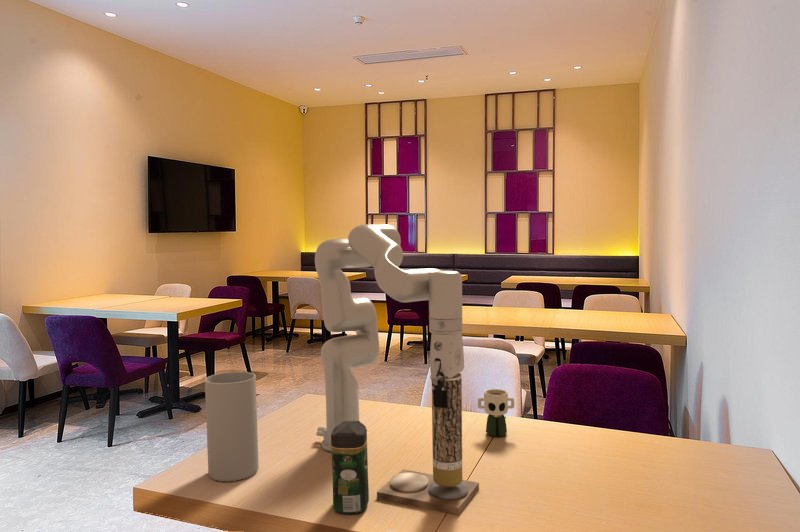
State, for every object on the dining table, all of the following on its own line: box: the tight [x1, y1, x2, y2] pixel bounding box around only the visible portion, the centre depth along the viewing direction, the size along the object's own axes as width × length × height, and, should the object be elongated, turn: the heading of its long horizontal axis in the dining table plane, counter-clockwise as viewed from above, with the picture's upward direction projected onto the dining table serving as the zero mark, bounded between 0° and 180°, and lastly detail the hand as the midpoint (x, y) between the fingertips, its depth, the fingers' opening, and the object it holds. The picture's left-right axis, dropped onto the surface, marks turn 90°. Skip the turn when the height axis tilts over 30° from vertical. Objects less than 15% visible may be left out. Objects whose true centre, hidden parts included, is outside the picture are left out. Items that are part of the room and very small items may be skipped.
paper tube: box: [431, 372, 463, 487], centre depth 132 cm, size 7×7×25 cm
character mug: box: [477, 388, 515, 437], centre depth 174 cm, size 11×7×13 cm, turn 86°
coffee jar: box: [330, 420, 370, 515], centre depth 129 cm, size 10×8×19 cm
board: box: [376, 468, 480, 516], centre depth 135 cm, size 20×14×2 cm
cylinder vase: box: [204, 371, 260, 482], centre depth 149 cm, size 12×12×25 cm
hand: (446, 401), depth 132 cm, fingers closed on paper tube, 6 cm apart
